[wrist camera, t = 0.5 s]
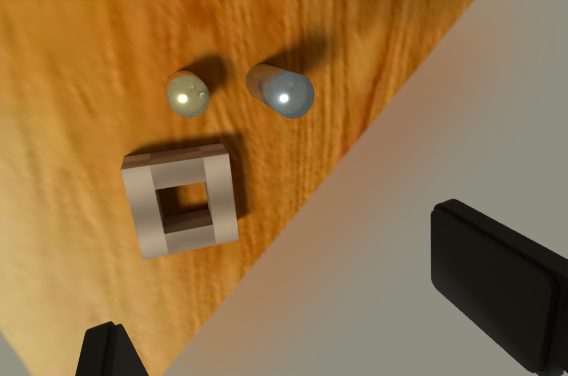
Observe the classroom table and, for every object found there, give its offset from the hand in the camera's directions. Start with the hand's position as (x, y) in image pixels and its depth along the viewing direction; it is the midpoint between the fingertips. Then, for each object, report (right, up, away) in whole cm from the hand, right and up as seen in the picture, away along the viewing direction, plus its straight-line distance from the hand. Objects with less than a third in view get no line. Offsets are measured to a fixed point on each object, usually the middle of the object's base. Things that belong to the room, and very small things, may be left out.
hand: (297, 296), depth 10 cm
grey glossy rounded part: (-10, +13, +26) cm, 31 cm away
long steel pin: (-3, +14, +28) cm, 31 cm away
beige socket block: (-12, +3, +30) cm, 32 cm away
